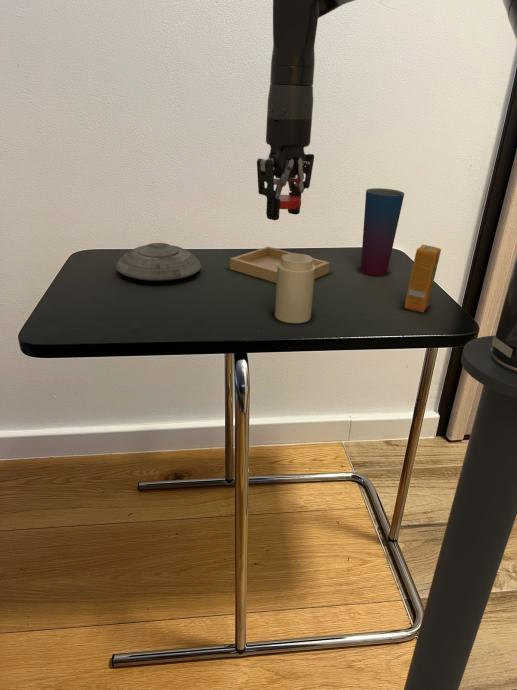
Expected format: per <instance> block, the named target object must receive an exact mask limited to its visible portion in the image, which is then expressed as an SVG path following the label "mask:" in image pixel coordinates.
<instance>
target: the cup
mask: <svg viewBox="0 0 517 690" xmlns="http://www.w3.org/2000/svg"><path fill="white" fill-rule="evenodd" d="M404 197H405V192H403V191H402V190H398V189H392V188H382V187H381V188H380V187H379V188H378V187H377V188H376V187H374V188H373V187H372V188H367V189H366V190H365V200H364V201H365V202H364V204H365V205H364V217H363V228H362V229H363V230H362V231H363V233H362V246H361V258H360V271H361V272H362V273H363V274H365V275H370V276H385V275H387V274H388V271H389V265H390V261H391V256H392V253H393V247H394V244H395V243H394V242H395V239H396V233H397V229H398V225H399V220H400V215H401V212H402V206H403V202H404Z"/></svg>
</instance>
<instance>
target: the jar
mask: <svg viewBox="0 0 517 690" xmlns="http://www.w3.org/2000/svg"><path fill="white" fill-rule="evenodd" d="M313 258H314V257H312V256H311V255H308V254H305V253H296V252H291V253H290V254H285V255H283V256H281V262H280V263H278V266H277V282H276V283H275V284H276V285H275V302H274V317H275V319H276V320H278V321H280V322H283V323H288V324H303V323H306V322H309V321H310V320H311V319H312V311H313V301H314V290H315V282H316V281H315V280H316V279H315V270H316V267H315V265H314V264H313V263H314V262H313Z"/></svg>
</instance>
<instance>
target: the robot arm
mask: <svg viewBox="0 0 517 690" xmlns="http://www.w3.org/2000/svg"><path fill="white" fill-rule="evenodd" d="M501 1H502V4H503V6H504V8H505V11H506V15H507V18H508V22H509V25H510V27H511V30H512V32H513V36H514V38H515V40H516V41H517V0H501ZM352 2H356V0H272V42H273V43H272V50H271V51H272V52H271V59H270V60H271V61H270V73H269V74H270V76H269V83H270V84H269V89H268V96H267V107H266V108H267V109H266V110H267V111H266V128H265V129H266V131H265V143H266V144H267V145H269V146H270V150H269V154H268V157H265V158H257V160H256V172H257V189H258V194H259V195H262V196H264V197H266V211H265V213H266V214H265V215H266V219H268V220H271V221H278V220H279V219H280V210H281V209H280V199H279V197H280V195H282V190H283V188H284V187H285V186H287V185H288V189H289V192H288V195H293V196H298V197H300V198H301V199H302V194H304V191H305V189H307V190H308V189H309V188H310V186H311V180H312V175H313V174H312V173H313V168H314V162H315V154H313V153H308V152H305V148H307V147H309V146H310V145H311V136H312V123H313V111H314V80H315V79H314V78H315V65H316V56H315V55H316V53H315V52H316V51H315V44H316V38H317V29H318V22H319V19H320V18H322V17H324V16H326V15H327V14H329V13H331V12H333V11H335V10H336V9H338V8H340V7H342V6H344V5H346V4H349V3H352ZM265 183H266V185H265ZM275 185H276V186H275ZM287 212H288V214H289V215H290V214H292V215H299V214H300V212H301V207H299V208H296V209H287ZM507 285H508V286H507V289H506V293H505V297H504V301H503V305H502V309H501V312H500V316H499V320H498V324H497V328H496V332H495V335H494V336H495V337H494V338H493V341H492V345H493V346H492V348H491V351H490V357H491V359H492V360H493V361H494V362H495V363H496V364H498V365H499V366H501V367H502V368H504V369H506V370H509V371H511V372H513V373H516V374H517V254H516V256H515V259H514V262H513V266H512V269H511V274H510V278H509V281H508V284H507Z"/></svg>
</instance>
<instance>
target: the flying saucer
mask: <svg viewBox="0 0 517 690" xmlns="http://www.w3.org/2000/svg"><path fill="white" fill-rule="evenodd" d="M115 268H116V270H117V272H119V273H120V274H121V275H123V276H124V277H125V276H126V277H127V278H130V279H134V280H139V281H144V282H169V281H170V282H171V281H176V280H181V279H185V278H188V277H192V276H193V275H195V274H196V273H198V271H200V270H201V268H202V264H201V262H200V261H199V259H198V257H196V255H194V254H193V253H192V252H191V251H189V250H187V249H185V248H182V247H180V246H177V245H172V244H169V243H165V242H151V243H147V244H145V245H140V246H137V247H134V248H132V249H131V250H129V251H127V252H126V253H124V254H123V255H122V256H121V257H120V259H119V260H118V261H117V263H116V265H115Z"/></svg>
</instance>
